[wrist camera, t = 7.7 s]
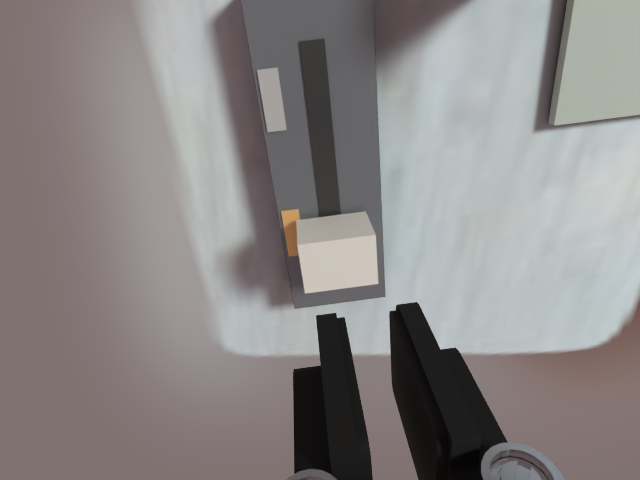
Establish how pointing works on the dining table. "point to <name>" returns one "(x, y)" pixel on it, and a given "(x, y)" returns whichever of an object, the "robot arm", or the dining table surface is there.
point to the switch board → (318, 120)
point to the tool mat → (598, 62)
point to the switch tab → (337, 252)
